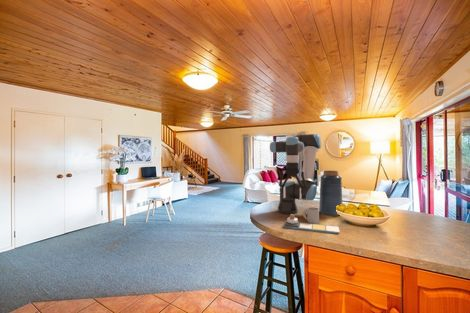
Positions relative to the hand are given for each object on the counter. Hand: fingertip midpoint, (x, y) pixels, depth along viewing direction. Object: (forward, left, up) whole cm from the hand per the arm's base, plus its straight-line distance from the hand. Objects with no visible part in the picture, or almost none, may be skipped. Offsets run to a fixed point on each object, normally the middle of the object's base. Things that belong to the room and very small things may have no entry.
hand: (292, 198), depth 138 cm
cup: (-12, +10, -18) cm, 24 cm away
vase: (-39, +24, -18) cm, 49 cm away
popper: (0, 0, -15) cm, 15 cm away
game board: (0, +10, -18) cm, 20 cm away
